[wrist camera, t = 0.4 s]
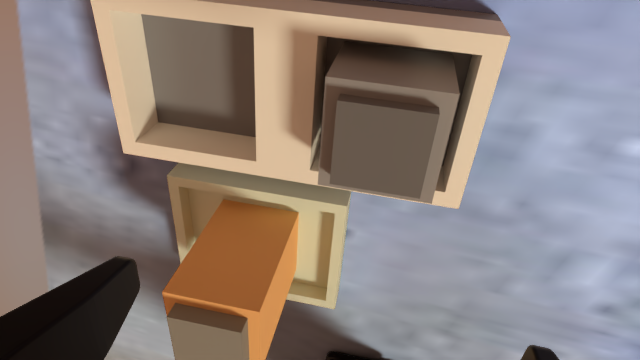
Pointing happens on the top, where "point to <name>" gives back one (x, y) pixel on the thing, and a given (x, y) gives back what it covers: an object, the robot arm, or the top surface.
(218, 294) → the plug
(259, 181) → the tray
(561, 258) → the top surface
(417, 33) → the cream slotted rack
